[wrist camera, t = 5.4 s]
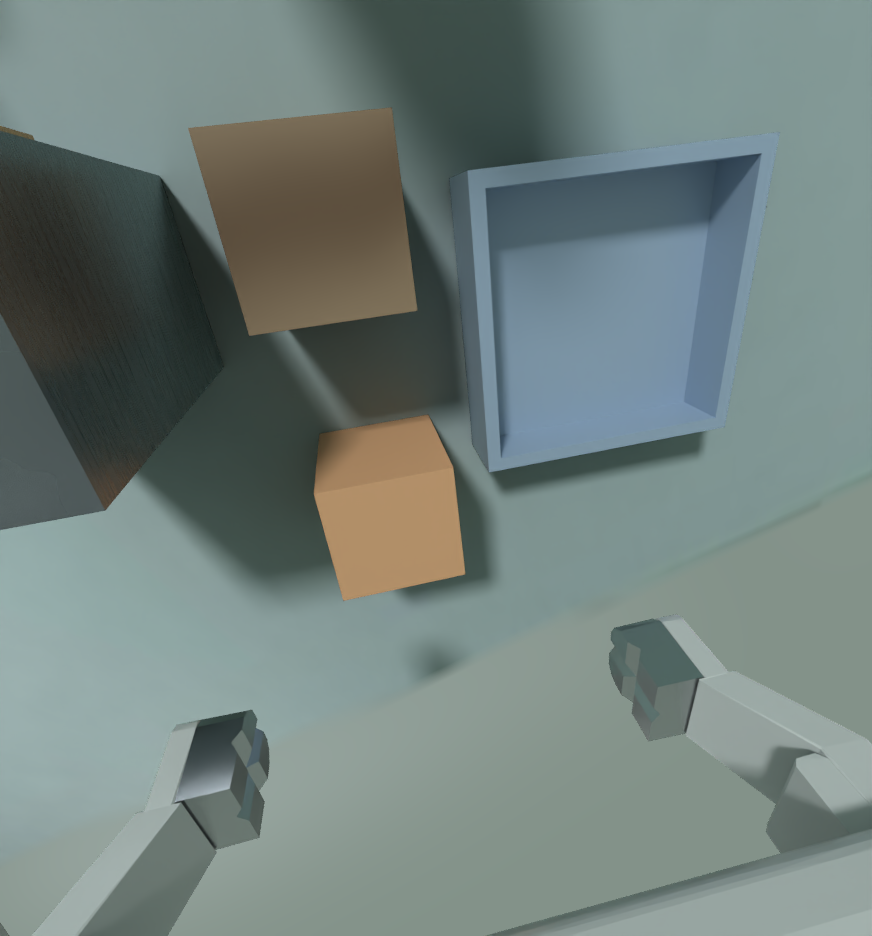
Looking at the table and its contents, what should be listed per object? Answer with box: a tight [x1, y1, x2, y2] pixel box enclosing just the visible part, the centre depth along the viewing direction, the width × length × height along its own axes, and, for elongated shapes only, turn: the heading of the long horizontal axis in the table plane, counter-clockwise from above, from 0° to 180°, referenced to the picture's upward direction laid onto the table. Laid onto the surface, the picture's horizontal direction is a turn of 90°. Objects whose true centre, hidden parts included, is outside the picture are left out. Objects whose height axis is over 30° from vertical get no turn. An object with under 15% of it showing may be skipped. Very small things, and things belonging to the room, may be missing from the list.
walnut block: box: [188, 108, 417, 336], centre depth 14 cm, size 4×4×5 cm
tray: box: [449, 132, 780, 472], centre depth 18 cm, size 10×10×3 cm
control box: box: [0, 126, 223, 530], centre depth 11 cm, size 7×6×10 cm
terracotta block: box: [314, 415, 465, 601], centre depth 18 cm, size 4×4×5 cm
